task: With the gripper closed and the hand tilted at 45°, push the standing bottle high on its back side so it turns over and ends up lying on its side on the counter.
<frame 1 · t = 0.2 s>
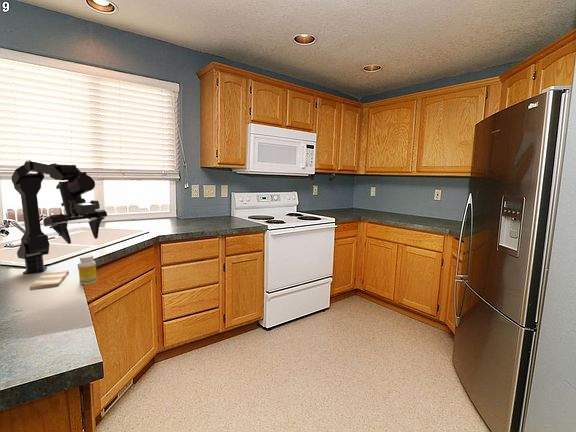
hand: (83, 241, 109), 15 cm above the worktop, tool tilted 15°, fingers open, 9 cm apart
beige rectangular board: (50, 280, 114), on the worktop
supplement bottle: (88, 282, 112), on the worktop
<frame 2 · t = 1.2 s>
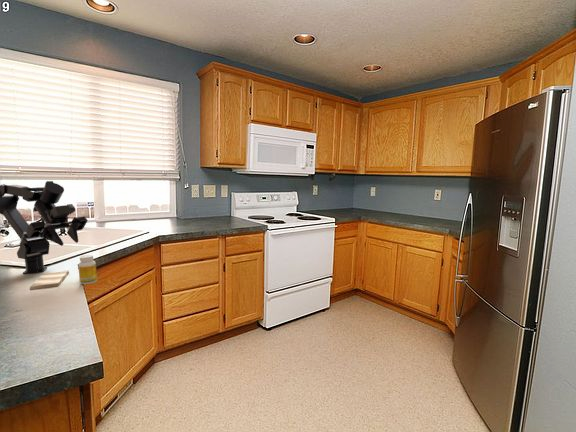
hand: (70, 243, 114), 14 cm above the worktop, tool tilted 45°, fingers open, 5 cm apart
nothing on the worktop moved.
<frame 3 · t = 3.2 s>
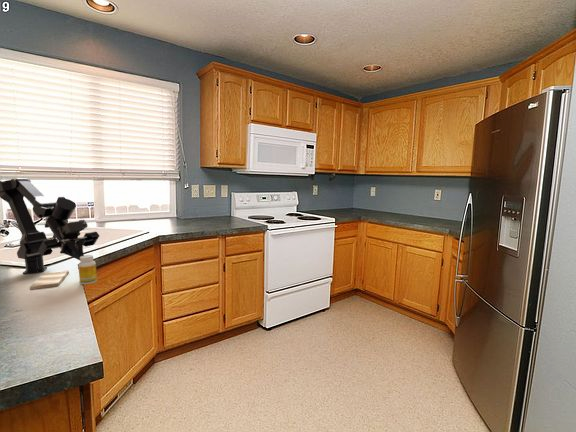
hand: (82, 260, 112), 8 cm above the worktop, tool tilted 45°, fingers closed, pressing on supplement bottle
supplement bottle: (88, 282, 112), on the worktop, touching gripper
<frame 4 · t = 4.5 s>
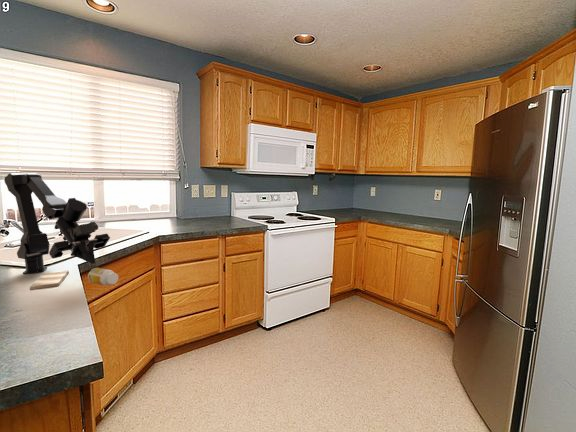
hand: (93, 262, 109), 8 cm above the worktop, tool tilted 45°, fingers closed
supplement bottle: (94, 275, 111), point 3 cm above the worktop
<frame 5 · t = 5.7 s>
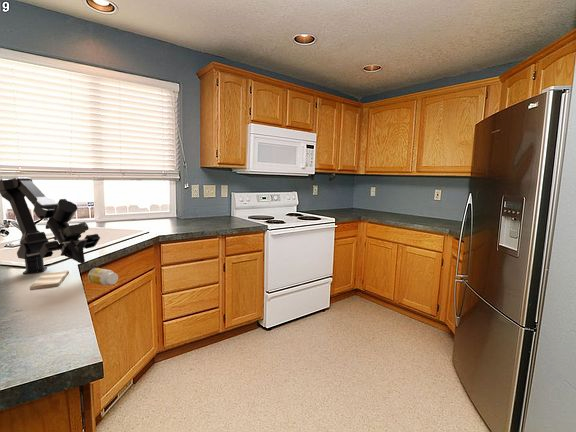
hand: (83, 262, 112), 7 cm above the worktop, tool tilted 45°, fingers closed
nothing on the worktop moved.
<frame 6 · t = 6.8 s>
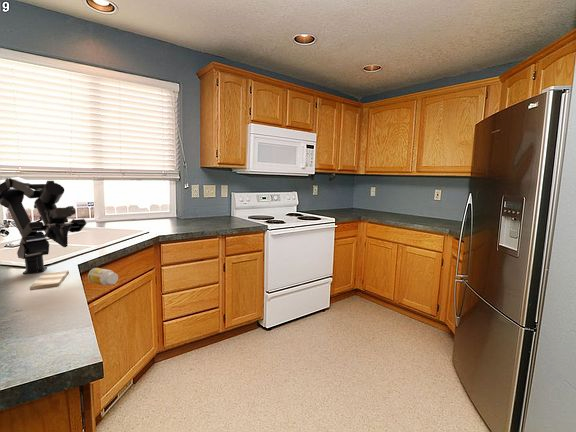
hand: (65, 246, 112), 13 cm above the worktop, tool tilted 40°, fingers closed
nothing on the worktop moved.
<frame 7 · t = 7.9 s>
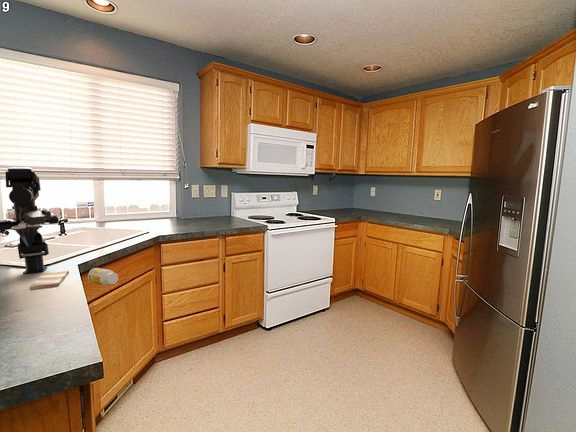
hand: (29, 246, 112), 13 cm above the worktop, tool pointing down, fingers closed
nothing on the worktop moved.
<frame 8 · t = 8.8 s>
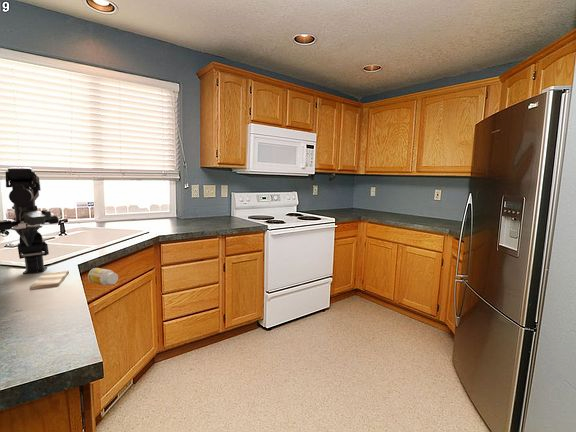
hand: (29, 246, 112), 13 cm above the worktop, tool pointing down, fingers closed
nothing on the worktop moved.
at the end: supplement bottle tilted 90°; supplement bottle inside the target area (2.3 cm from its centre), point 2.6 cm above the worktop; the gripper is holding nothing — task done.
